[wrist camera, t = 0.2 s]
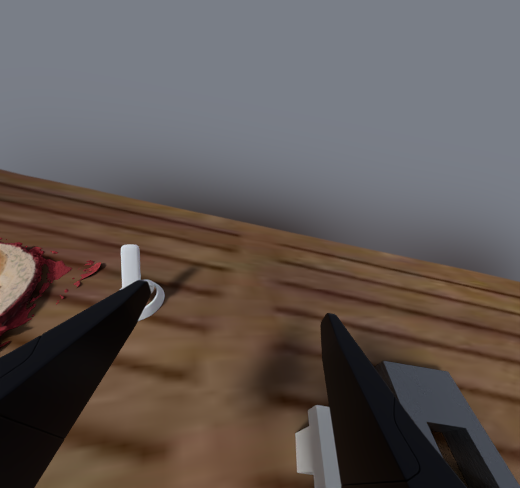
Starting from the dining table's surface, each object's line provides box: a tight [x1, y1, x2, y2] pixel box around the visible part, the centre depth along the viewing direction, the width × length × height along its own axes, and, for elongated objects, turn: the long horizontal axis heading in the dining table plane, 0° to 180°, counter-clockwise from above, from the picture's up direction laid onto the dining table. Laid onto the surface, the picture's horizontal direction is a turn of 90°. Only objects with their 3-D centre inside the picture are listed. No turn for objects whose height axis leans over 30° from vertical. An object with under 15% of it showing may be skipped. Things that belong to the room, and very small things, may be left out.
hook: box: [120, 245, 165, 321], centre depth 25 cm, size 6×10×6 cm
